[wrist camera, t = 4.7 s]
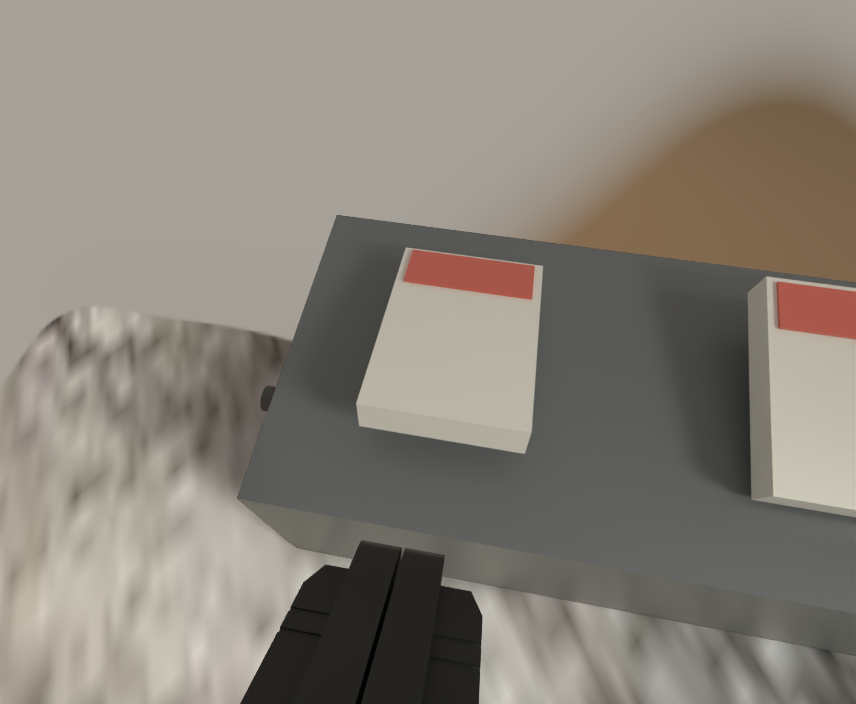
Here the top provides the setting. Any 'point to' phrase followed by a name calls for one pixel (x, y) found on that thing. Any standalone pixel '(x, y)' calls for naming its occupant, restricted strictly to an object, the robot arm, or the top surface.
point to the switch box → (562, 446)
